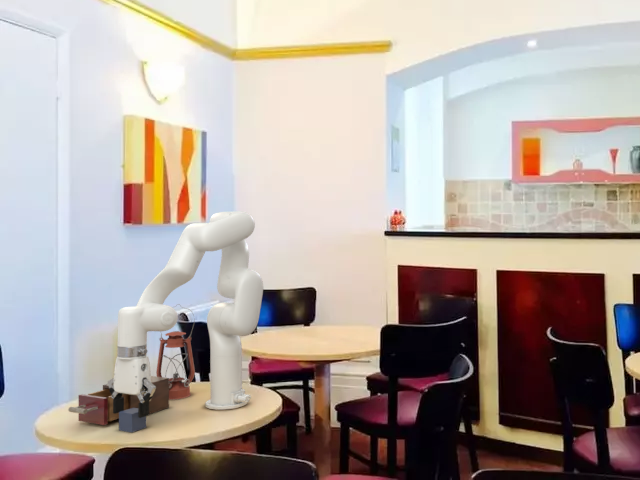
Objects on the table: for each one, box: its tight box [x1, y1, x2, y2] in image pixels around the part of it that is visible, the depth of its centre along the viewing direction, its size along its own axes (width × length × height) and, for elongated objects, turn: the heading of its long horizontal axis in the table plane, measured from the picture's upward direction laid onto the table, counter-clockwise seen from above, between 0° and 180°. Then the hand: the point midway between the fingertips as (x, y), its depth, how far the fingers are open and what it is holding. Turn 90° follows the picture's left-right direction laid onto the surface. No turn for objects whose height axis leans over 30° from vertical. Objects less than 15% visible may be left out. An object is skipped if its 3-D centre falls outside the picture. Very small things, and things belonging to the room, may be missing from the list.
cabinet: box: [102, 375, 170, 415], centre depth 207 cm, size 15×12×9 cm
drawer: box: [67, 388, 129, 426], centre depth 196 cm, size 18×10×7 cm, turn 154°
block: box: [118, 408, 147, 433], centre depth 189 cm, size 5×5×5 cm
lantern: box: [155, 303, 196, 401], centre depth 226 cm, size 10×10×30 cm
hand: (130, 414), depth 189 cm, fingers open, 9 cm apart
